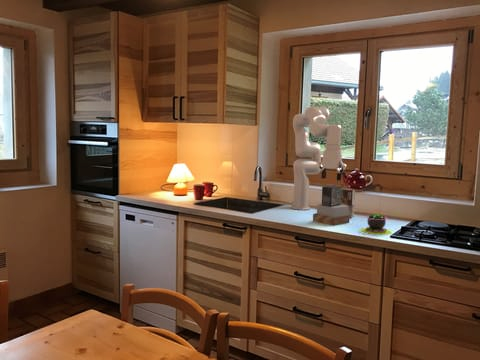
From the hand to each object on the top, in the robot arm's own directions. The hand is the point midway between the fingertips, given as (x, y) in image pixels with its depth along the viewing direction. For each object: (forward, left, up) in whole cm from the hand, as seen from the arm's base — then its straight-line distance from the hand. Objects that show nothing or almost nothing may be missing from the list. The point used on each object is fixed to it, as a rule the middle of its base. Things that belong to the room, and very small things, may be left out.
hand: (331, 179), depth 240 cm
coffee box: (-4, +22, -24) cm, 32 cm away
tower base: (+1, 0, -24) cm, 24 cm away
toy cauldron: (+29, -1, -24) cm, 37 cm away
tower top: (+2, +1, -19) cm, 19 cm away
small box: (+1, 0, -14) cm, 14 cm away
